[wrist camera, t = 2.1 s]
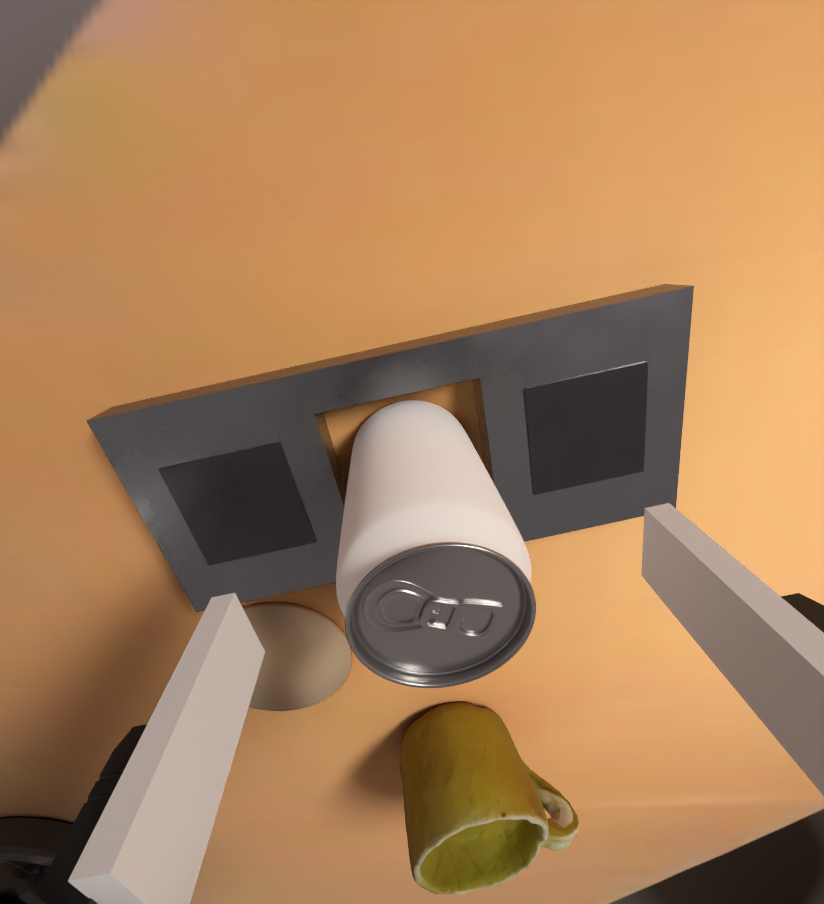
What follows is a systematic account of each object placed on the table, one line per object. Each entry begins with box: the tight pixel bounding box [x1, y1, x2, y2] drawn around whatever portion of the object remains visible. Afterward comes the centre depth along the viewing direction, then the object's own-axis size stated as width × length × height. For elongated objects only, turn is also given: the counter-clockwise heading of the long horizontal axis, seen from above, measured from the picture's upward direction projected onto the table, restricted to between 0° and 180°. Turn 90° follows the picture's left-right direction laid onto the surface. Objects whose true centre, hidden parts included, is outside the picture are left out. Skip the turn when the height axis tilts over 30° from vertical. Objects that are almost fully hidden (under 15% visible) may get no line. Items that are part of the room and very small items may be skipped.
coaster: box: [242, 602, 352, 711], centre depth 28 cm, size 10×10×1 cm
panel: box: [87, 284, 694, 612], centre depth 22 cm, size 28×12×2 cm, turn 102°
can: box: [336, 400, 536, 688], centre depth 17 cm, size 6×6×12 cm
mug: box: [400, 702, 579, 895], centre depth 30 cm, size 12×10×10 cm
